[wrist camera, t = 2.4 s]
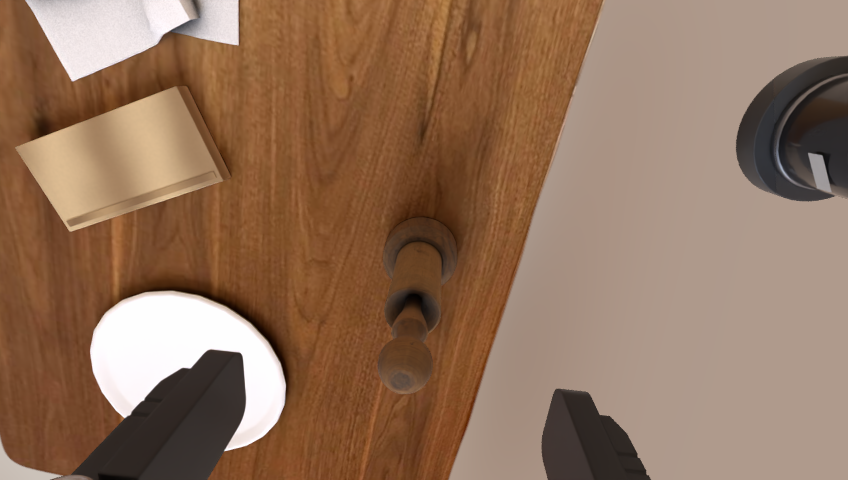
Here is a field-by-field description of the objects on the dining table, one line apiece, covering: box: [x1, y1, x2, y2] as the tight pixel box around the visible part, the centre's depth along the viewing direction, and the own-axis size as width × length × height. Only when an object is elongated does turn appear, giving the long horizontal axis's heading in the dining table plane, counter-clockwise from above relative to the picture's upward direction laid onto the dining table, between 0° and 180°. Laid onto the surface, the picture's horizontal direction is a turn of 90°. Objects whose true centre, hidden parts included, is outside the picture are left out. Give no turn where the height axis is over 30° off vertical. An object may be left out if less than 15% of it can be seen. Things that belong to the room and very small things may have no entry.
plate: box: [90, 290, 286, 451], centre depth 44 cm, size 21×21×1 cm
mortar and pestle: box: [378, 217, 457, 394], centre depth 30 cm, size 7×6×18 cm
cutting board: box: [15, 86, 231, 232], centre depth 36 cm, size 16×8×2 cm, turn 108°
